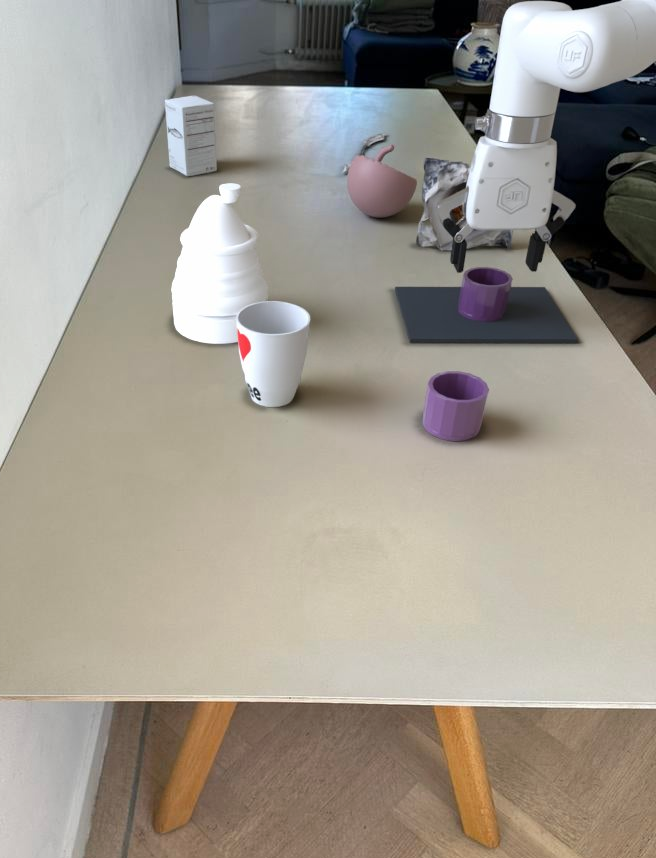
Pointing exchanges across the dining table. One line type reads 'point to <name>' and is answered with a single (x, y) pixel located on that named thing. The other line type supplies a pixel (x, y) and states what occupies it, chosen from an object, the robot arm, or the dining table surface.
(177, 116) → the white packaging box
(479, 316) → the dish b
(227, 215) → the honey pot
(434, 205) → the meal
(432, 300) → the mat
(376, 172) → the mortar and pestle
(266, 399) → the cup
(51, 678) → the dining table surface
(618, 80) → the robot arm
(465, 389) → the purple faceted cup
